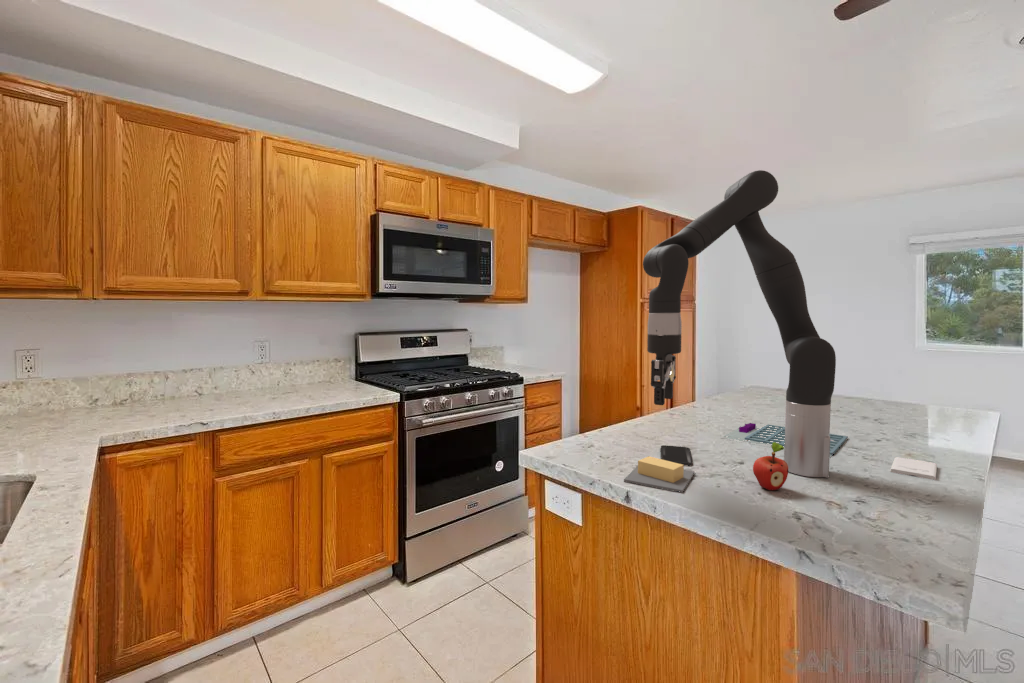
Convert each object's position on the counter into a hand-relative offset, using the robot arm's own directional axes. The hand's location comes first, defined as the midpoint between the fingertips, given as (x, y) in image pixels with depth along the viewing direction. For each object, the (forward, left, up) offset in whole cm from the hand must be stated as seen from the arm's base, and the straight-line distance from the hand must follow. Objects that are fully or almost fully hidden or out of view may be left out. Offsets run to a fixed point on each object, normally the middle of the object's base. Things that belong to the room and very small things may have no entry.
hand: (663, 401), depth 108 cm
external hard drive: (-52, -38, -19) cm, 67 cm away
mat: (0, 0, -18) cm, 18 cm away
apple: (-22, -6, -18) cm, 29 cm away
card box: (0, 0, -18) cm, 18 cm away
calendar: (-24, -55, -19) cm, 63 cm away
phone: (+1, -19, -19) cm, 26 cm away
